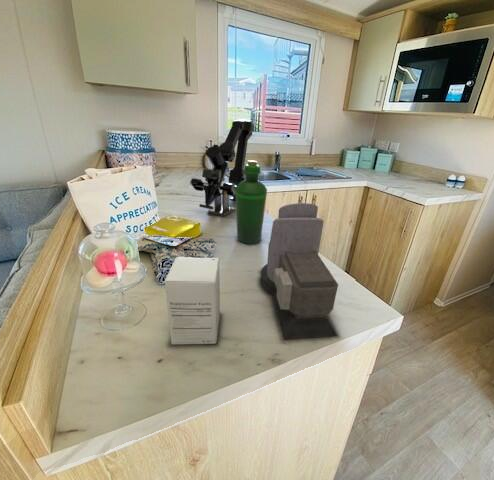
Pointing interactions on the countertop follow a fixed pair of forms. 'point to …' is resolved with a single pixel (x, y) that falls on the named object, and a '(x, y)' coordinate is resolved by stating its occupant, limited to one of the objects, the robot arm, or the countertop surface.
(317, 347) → the countertop surface
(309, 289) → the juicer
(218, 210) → the tap bracket
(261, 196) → the bottle
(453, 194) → the countertop surface
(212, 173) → the robot arm
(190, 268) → the white product box
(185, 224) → the element tile
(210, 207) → the tap lever
